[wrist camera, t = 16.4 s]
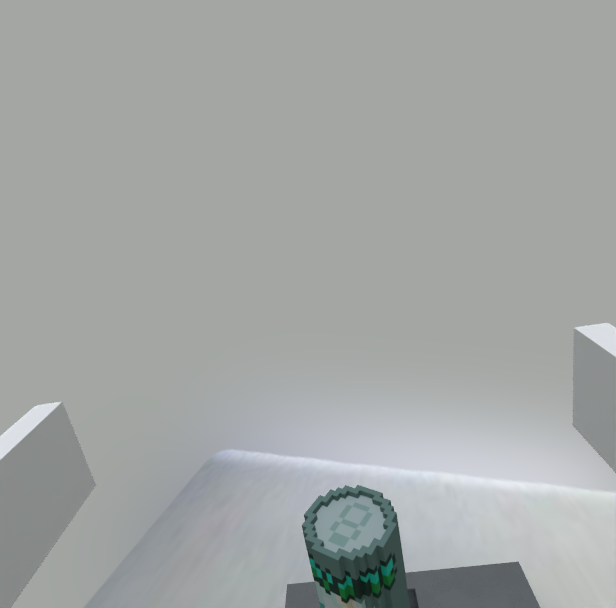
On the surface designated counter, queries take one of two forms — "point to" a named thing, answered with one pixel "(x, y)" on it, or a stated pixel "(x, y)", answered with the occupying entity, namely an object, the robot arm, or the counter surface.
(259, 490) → the counter surface
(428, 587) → the grey slab with hole
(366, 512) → the can
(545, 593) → the counter surface
